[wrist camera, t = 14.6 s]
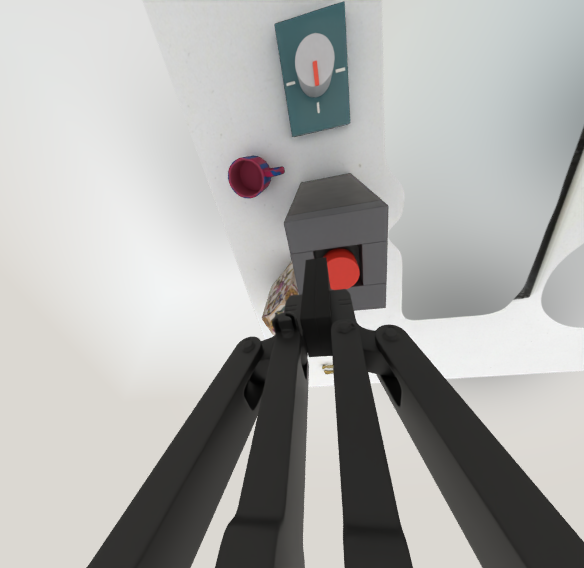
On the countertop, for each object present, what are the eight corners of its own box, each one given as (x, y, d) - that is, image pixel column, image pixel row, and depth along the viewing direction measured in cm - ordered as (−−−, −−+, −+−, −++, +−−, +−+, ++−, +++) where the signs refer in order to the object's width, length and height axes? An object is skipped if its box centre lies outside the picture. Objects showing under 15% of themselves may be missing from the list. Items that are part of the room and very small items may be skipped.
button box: (300, 182, 46) (283, 222, 23) (350, 173, 45) (388, 205, 21) (309, 238, 52) (303, 315, 29) (353, 231, 51) (385, 308, 27)
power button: (318, 250, 25) (318, 260, 23) (355, 245, 24) (359, 254, 22) (322, 281, 27) (323, 292, 25) (357, 277, 26) (360, 288, 24)
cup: (236, 157, 45) (224, 159, 39) (285, 153, 44) (281, 154, 38) (242, 192, 49) (232, 199, 43) (288, 189, 47) (284, 196, 42)
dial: (296, 60, 35) (291, 39, 28) (329, 50, 34) (332, 25, 27) (302, 101, 37) (298, 91, 30) (332, 92, 36) (336, 80, 29)
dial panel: (277, 32, 35) (274, 23, 33) (342, 11, 34) (344, 0, 31) (293, 137, 42) (292, 136, 40) (348, 124, 41) (350, 123, 38)
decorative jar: (296, 254, 55) (288, 297, 40) (333, 280, 58) (339, 329, 42) (270, 286, 61) (254, 334, 45) (304, 309, 63) (300, 361, 48)
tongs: (363, 364, 73) (364, 369, 71) (325, 370, 77) (325, 376, 75) (359, 355, 71) (360, 360, 69) (320, 363, 75) (320, 368, 74)
